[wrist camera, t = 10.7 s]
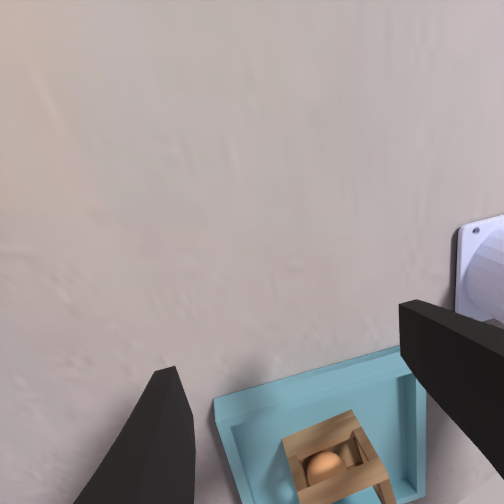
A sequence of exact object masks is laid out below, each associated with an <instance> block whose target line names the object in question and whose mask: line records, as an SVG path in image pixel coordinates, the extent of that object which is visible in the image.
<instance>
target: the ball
mask: <svg viewBox="0 0 504 504" xmlns="http://www.w3.org/2000/svg"><path fill="white" fill-rule="evenodd" d="M345 471H348V469H347V467H346V465H345V463H344V461H343V460H342V459H341V458H340V457H339V456H338V455H336V454H335V453H332V452H329V451H322V452H319V453H317V454H315V455H314V456H313V457H312V458H311V460H310V462H309V464H308V468H307V477H308V482H309V484H310V486H313V485H315V484H317V483H320V482H322V481H324V480H327V479H329V478H331V477H334V476H336V475H338V474H341V473H343V472H345Z"/></svg>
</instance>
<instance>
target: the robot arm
mask: <svg viewBox="0 0 504 504" xmlns="http://www.w3.org/2000/svg"><path fill="white" fill-rule="evenodd" d="M474 228H475V230H474ZM473 230H474V232H473ZM472 232H473V233H472ZM494 318H495V319H496V320H498V321H499V322H501V323H503V324H504V215H500V216H496V217H492V218H489V219H485V220H481V221H477V222H473V223H469V224H465V225H463V226H462V227H461V228H460V229H459V232H458V250H457V274H456V298H455V312H453V311H450V310H447V309H444V308H442V307H439V306H436V305H433V304H430V303H427V302H424V301H420V300H417V299H416V300H412V301H408V302H405V303H401V304H399V332H400V356H401V357H402V359H403V360H404V362H405V363H406V365H407V366H408V368H409V369H410V370H411V372H412V373H413V375H414V376H415V377H416V379H417V380H418V382H419V383H420V384H421V385H422V386H423V388H424V389H425V390H426V391H427V392H428V393H429V394H430V395H431V397H432V398H433V399H434V400H435V401H436V402H437V403H438V404H439V406H440V407H441V408H442V409H443V410H444V411H445V412H446V413H447V414H448V415H449V417H450V418H451V419H452V420H453V421H454V422H455V423H456V424H457V425H458V426H459V428H460V429H461V430H462V431H463V432H464V433H465V434H466V435H467V436H468V438H469V439H470V440H471V441H472V442H473V443H474V444H475V445H476V446H477V447H478V449H479V450H480V451H481V452H482V453H483V455H484V456H485V457H486V458H487V459H488V460H489V462H490V463H491V464H492V465H493V467H494V468H495V469H496V471H497V472H498V473H499V474H500V476H501V477H502V478H503V479H504V329H501V328H498V327H495V326H492V325H489V324H486V323H484V322H483V321H487V320H490V319H494ZM195 454H196V449H195V434H194V421H193V414H192V411H191V408H190V406H189V403H188V400H187V397H186V395H185V392H184V389H183V386H182V384H181V381H180V378H179V375H178V372H177V370H176V367H175V366H172V367H169V368H165V369H162V370H158V371H155V372H154V374H153V375H152V377H151V379H150V381H149V382H148V384H147V386H146V388H145V390H144V392H143V394H142V395H141V397H140V399H139V401H138V403H137V404H136V406H135V408H134V410H133V412H132V413H131V415H130V417H129V419H128V420H127V422H126V424H125V425H124V427H123V429H122V431H121V432H120V434H119V436H118V437H117V439H116V441H115V442H114V444H113V445H112V447H111V448H110V450H109V452H108V453H107V455H106V456H105V458H104V459H103V461H102V463H101V464H100V466H99V467H98V469H97V470H96V472H95V473H94V475H93V476H92V478H91V479H90V481H89V482H88V483H87V485H86V486H85V488H84V489H83V491H82V492H81V493H80V495H79V496H78V498H77V499H76V500H75V502H74V503H73V504H194V484H195Z"/></svg>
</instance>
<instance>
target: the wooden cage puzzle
mask: <svg viewBox="0 0 504 504" xmlns="http://www.w3.org/2000/svg"><path fill="white" fill-rule="evenodd" d="M282 442H283V445H284V449H285V452H286V456H287V459H288V463H289V466H290V469H291V473H292V476H293V480H294V483H295V487H296V490H297V494H298V497H299V500H300V504H331V503H334V502H336V501H338V500H340V499H343V498H345V497H347V496H350V495H352V494H354V493H357V492H359V491H361V490H364V489H366V488H368V487H371V486H373V488H374V490H375V492H376V494H377V496H378V498H379V500H380V502H381V504H397V503H396V499H395V496H394V493H393V489H392V486H391V483H390V479H389V476H388V472H387V470H386V469H385V467H384V465H383V463H382V462H381V460H380V458H379V456H378V455H377V453H376V451H375V449H374V448H373V446H372V444H371V442H370V441H369V439H368V437H367V435H366V434H365V432H364V430H363V428H362V427H361V425H360V423H359V421H358V420H357V418H356V416H355V414H354V413H353V411H352V409H351V410H348V411H346V412H344V413H341V414H339V415H336V416H334V417H332V418H329V419H327V420H325V421H322V422H320V423H318V424H315V425H313V426H310V427H308V428H306V429H303V430H301V431H299V432H296V433H294V434H292V435H289V436H287V437H285V438H282ZM322 451H329V452H332V453H335V454H336V455H338V456H339V457H340V458H341V459H342V460H343V461H344V463H345V465H346V467H347V469H348V471H345V472H343V473H341V474H338V475H336V476H334V477H331V478H329V479H327V480H324V481H322V482H320V483H317V484H315V485H313V486H310V484H309V482H308V477H307V468H308V464H309V462H310V460H311V458H312V457H313V456H314V455H315V454H317V453H319V452H322Z"/></svg>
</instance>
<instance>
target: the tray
mask: <svg viewBox="0 0 504 504" xmlns="http://www.w3.org/2000/svg"><path fill="white" fill-rule="evenodd" d="M351 409H352V411H353V413H354V414H355V416H356V418H357V420H358V421H359V423H360V425H361V427H362V428H363V430H364V432H365V434H366V435H367V437H368V439H369V441H370V442H371V444H372V446H373V448H374V449H375V451H376V453H377V455H378V456H379V458H380V460H381V462H382V463H383V465H384V467H385V469H386V470H387V472H388V476H389V479H390V483H391V486H392V489H393V493H394V496H395V499H396V503H397V504H404V503H407V502H410V501H413V500H416V499H419V498H422V497H425V496H426V390H425V389H424V388H423V386H422V385H421V384H420V383H419V382H418V380H417V379H416V377H415V376H414V375H413V373H412V372H411V370H410V369H409V368H408V366H407V365H406V363H405V362H404V360H403V359H402V357H401V356H400V345H399V346H395V347H392V348H388V349H385V350H381V351H378V352H374V353H371V354H367V355H364V356H360V357H357V358H353V359H350V360H346V361H343V362H339V363H336V364H332V365H329V366H325V367H322V368H318V369H315V370H311V371H308V372H305V373H301V374H298V375H294V376H291V377H287V378H284V379H280V380H277V381H273V382H270V383H266V384H263V385H259V386H256V387H252V388H249V389H245V390H242V391H238V392H235V393H231V394H228V395H224V396H221V397H217V398H214V410H215V422H216V425H217V428H218V431H219V434H220V437H221V440H222V443H223V446H224V449H225V452H226V455H227V458H228V461H229V465H230V468H231V471H232V474H233V477H234V480H235V483H236V486H237V489H238V492H239V495H240V498H241V501H242V504H300V500H299V497H298V494H297V490H296V487H295V483H294V480H293V476H292V473H291V469H290V466H289V463H288V459H287V456H286V452H285V449H284V445H283V442H282V438H285V437H287V436H289V435H292V434H294V433H296V432H299V431H301V430H303V429H306V428H308V427H310V426H313V425H315V424H318V423H320V422H322V421H325V420H327V419H329V418H332V417H334V416H336V415H339V414H341V413H344V412H346V411H348V410H351ZM331 504H381V502H380V500H379V498H378V496H377V494H376V492H375V490H374V488H373V486H371V487H368V488H366V489H364V490H361V491H359V492H357V493H354V494H352V495H350V496H347V497H345V498H343V499H340V500H338V501H336V502H334V503H331Z"/></svg>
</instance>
